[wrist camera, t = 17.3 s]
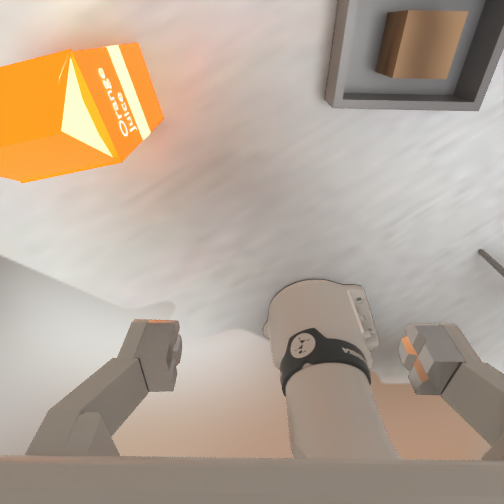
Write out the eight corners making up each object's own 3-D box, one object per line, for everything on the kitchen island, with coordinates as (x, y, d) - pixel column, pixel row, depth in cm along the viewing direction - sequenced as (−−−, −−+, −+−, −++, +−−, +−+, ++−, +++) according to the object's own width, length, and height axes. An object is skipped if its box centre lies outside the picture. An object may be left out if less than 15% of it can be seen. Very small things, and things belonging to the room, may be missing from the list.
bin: (499, -23, 30) (534, -30, 26) (455, 102, 36) (478, 111, 32) (341, -26, 29) (354, -34, 26) (324, 99, 36) (332, 108, 32)
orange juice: (165, 119, 37) (94, 193, 20) (94, 135, 38) (-27, 217, 22) (137, 39, 32) (20, 53, 16) (58, 60, 33) (-127, 91, 17)
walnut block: (439, 13, 31) (468, 11, 27) (422, 72, 34) (446, 79, 29) (387, 12, 31) (408, 10, 27) (375, 71, 34) (392, 78, 29)
